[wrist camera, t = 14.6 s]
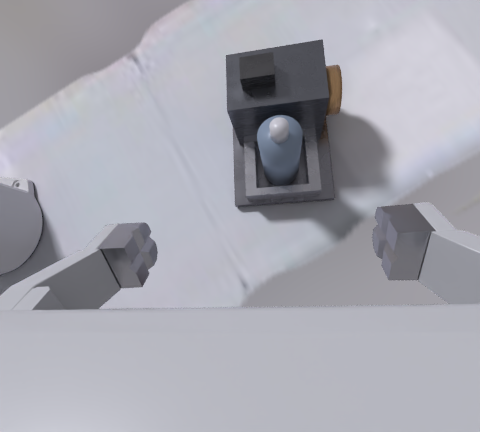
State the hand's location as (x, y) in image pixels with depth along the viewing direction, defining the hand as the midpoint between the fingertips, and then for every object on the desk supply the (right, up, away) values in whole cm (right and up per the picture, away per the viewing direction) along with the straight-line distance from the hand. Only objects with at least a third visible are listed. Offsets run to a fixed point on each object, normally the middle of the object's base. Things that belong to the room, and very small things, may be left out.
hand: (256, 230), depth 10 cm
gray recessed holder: (+6, +11, +32) cm, 34 cm away
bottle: (+5, +7, +30) cm, 32 cm away
